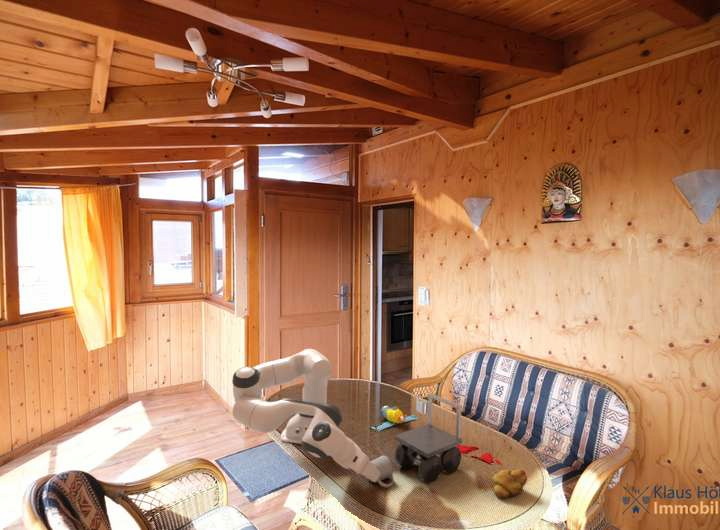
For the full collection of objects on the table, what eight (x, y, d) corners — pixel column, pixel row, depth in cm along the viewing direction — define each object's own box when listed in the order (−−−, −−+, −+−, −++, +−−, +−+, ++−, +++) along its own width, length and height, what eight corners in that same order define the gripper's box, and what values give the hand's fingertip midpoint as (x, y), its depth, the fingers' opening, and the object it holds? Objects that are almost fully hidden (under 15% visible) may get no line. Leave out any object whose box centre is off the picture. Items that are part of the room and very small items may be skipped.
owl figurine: (380, 417, 191) (361, 407, 204) (380, 436, 191) (361, 425, 204) (424, 404, 207) (404, 396, 219) (424, 421, 207) (405, 412, 220)
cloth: (511, 463, 168) (511, 457, 168) (490, 473, 160) (490, 468, 160) (461, 439, 189) (461, 434, 189) (440, 447, 181) (440, 442, 181)
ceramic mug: (363, 478, 155) (364, 458, 155) (380, 471, 160) (380, 451, 160) (382, 492, 147) (382, 471, 146) (399, 484, 152) (399, 463, 151)
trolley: (425, 489, 148) (426, 418, 147) (392, 467, 163) (392, 403, 162) (463, 470, 161) (464, 405, 160) (429, 452, 175) (430, 392, 174)
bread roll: (504, 504, 140) (505, 481, 139) (483, 490, 148) (483, 468, 148) (529, 493, 146) (530, 471, 146) (507, 480, 155) (507, 459, 154)
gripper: (326, 450, 153) (348, 468, 159) (359, 474, 136) (381, 493, 142) (336, 435, 155) (357, 453, 161) (369, 457, 139) (391, 476, 145)
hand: (369, 472), depth 152 cm, fingers closed, pressing on ceramic mug
